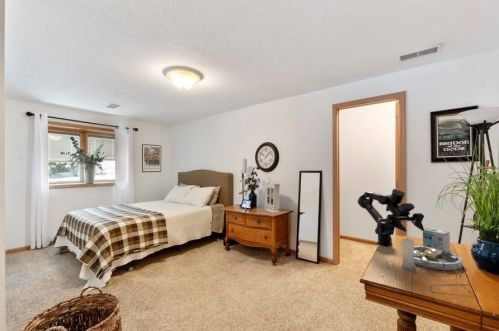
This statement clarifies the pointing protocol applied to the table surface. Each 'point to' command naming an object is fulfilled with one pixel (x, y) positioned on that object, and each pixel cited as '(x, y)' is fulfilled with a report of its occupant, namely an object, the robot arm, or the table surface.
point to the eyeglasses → (445, 272)
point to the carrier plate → (436, 258)
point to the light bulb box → (436, 239)
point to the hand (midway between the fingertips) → (414, 230)
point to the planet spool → (408, 254)
